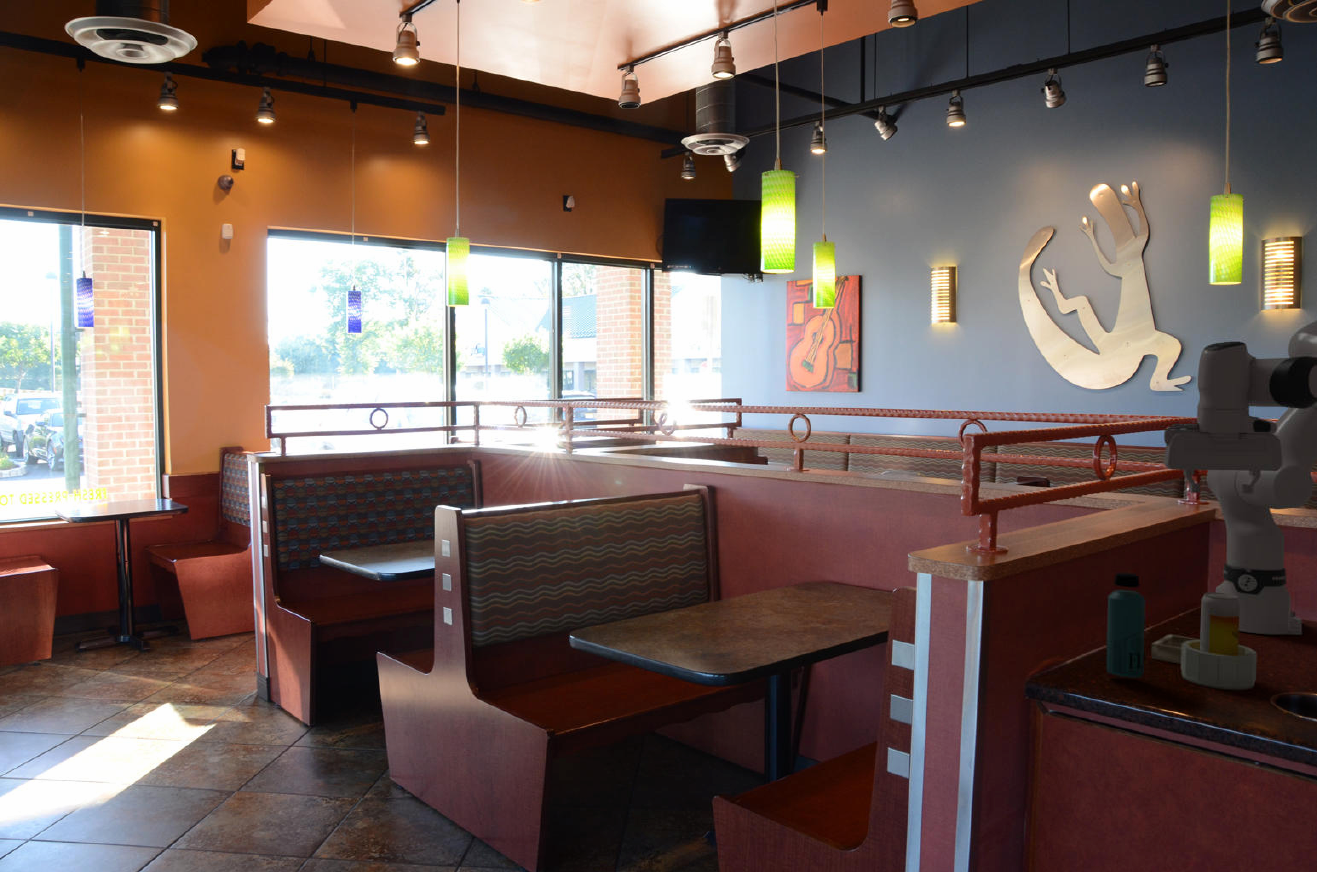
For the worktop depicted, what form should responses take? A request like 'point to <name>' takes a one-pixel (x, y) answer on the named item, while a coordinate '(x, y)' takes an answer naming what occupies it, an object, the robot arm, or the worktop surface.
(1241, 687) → the cup
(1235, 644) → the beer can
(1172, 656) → the square beige tray
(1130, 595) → the beverage bottle
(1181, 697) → the worktop surface
